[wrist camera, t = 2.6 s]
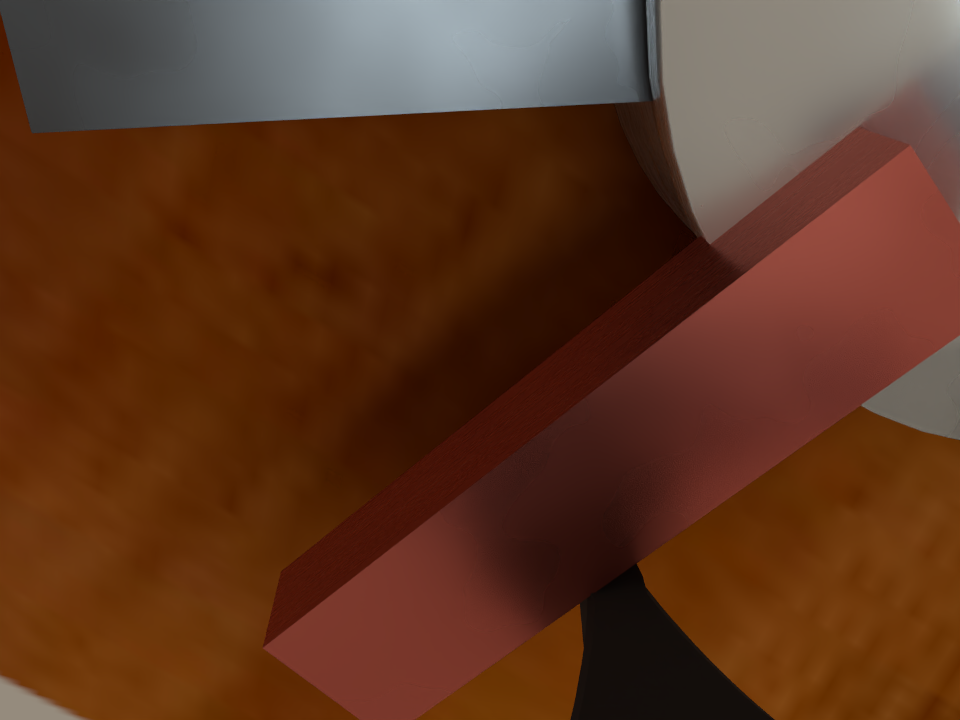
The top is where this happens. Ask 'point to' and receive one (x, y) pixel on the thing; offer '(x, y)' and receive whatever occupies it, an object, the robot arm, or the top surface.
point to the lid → (677, 349)
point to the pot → (330, 62)
